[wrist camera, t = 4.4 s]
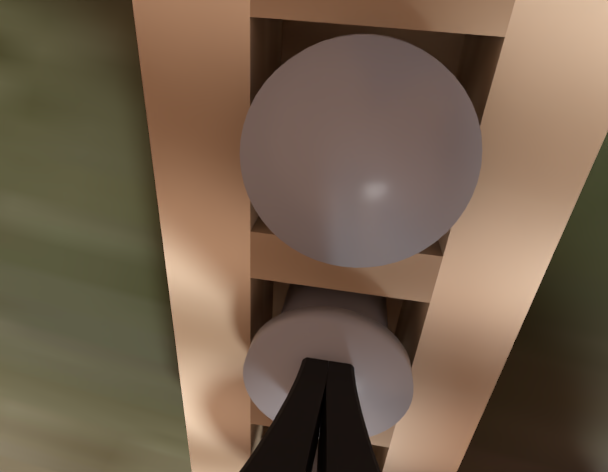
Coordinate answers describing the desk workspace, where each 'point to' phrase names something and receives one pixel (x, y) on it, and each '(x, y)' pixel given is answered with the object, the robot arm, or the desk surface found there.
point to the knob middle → (332, 352)
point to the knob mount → (380, 279)
